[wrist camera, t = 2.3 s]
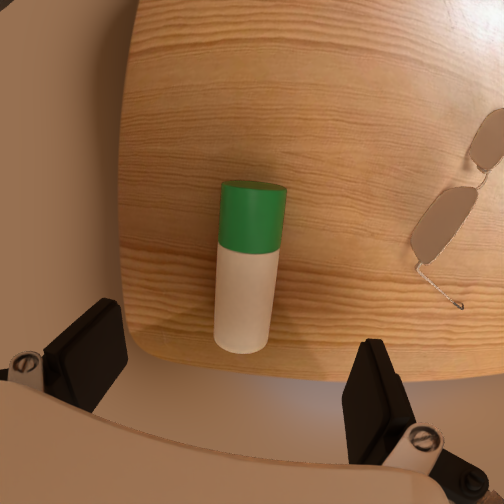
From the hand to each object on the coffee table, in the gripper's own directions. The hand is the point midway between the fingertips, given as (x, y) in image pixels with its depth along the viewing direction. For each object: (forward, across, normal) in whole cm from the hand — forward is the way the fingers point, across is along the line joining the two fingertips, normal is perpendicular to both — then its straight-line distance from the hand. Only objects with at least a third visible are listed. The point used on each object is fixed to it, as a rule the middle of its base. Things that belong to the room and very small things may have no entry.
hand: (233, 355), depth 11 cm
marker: (+10, 0, 0) cm, 10 cm away
